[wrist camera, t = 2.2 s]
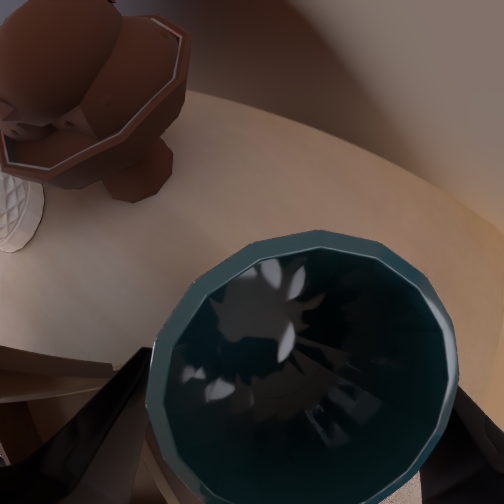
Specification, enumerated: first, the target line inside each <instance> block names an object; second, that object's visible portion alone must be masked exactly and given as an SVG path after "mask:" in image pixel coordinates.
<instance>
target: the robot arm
mask: <svg viewBox="0 0 504 504" xmlns="http://www.w3.org/2000/svg"><path fill="white" fill-rule="evenodd" d="M152 352H153V348H149V347H141V348H140V349H139V350H138V351H137V352H136V353H135V354H134V355H133V356H132V357H131V358H130V359H129V360H128V361H127V362H126V363H125V364H124V365H123V366H122V367H121V368H120V369H119V370H118V371H117V372H116V373H115V374H114V375H113V376H112V377H111V378H110V380H109V381H108V382H107V383H106V384H105V385H104V386H103V387H102V388H101V389H100V390H99V391H98V392H97V393H96V394H95V395H94V396H93V397H92V398H91V399H90V400H89V401H88V402H87V403H86V404H85V405H84V406H83V407H82V408H81V409H80V410H79V411H78V412H77V413H76V415H75V416H73V417H72V418H71V419H70V421H69V422H68V423H67V424H66V425H65V426H63V427H62V428H61V429H60V430H59V431H58V432H57V433H56V434H55V435H54V436H53V437H51V438H50V439H49V440H48V441H47V442H45V443H44V444H43V445H42V446H40V447H39V448H38V449H37V450H35V451H34V452H33V453H32V454H30V455H29V456H28V457H26V458H25V459H24V460H22V461H20V462H18V463H15V464H12V465H7V466H2V467H0V504H129V502H130V498H131V493H132V489H133V484H134V480H135V476H136V471H137V467H138V463H139V459H140V455H141V451H142V447H143V443H144V439H145V435H146V431H147V428H148V424H149V420H150V419H149V415H148V412H147V408H146V402H145V398H146V391H147V384H148V377H149V371H150V364H151V358H152ZM419 471H420V481H421V494H422V504H504V432H503V431H502V430H501V429H499V428H498V427H497V426H496V425H495V424H494V423H493V421H491V419H490V418H489V417H488V416H487V415H485V413H484V412H483V411H482V410H481V409H480V408H479V407H478V406H477V404H476V403H475V402H474V401H473V400H472V399H471V398H470V397H469V396H468V395H467V394H466V393H465V392H464V391H463V390H462V389H461V388H460V387H459V386H457V390H456V395H455V399H454V403H453V407H452V410H451V414H450V418H449V421H448V424H447V428H446V429H445V432H444V434H443V435H442V437H441V438H440V440H439V441H438V443H437V445H436V446H435V448H434V449H433V451H432V452H431V454H430V455H429V457H428V458H427V459H426V461H425V462H424V464H423V465H422V466H421V468H420V469H419Z"/></svg>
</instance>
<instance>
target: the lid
mask: <svg viewBox="0 0 504 504" xmlns="http://www.w3.org/2000/svg"><path fill="white" fill-rule="evenodd" d="M113 375H114V371H113V367H112V364H111V363H101V362H92V361H84V360H77V359H70V358H63V357H56V356H50V355H45V354H39V353H34V352H29V351H24V350H19V349H14V348H10V347H5V346H1V345H0V398H7V397H16V396H23V395H30V394H37V393H44V392H50V391H56V390H61V389H67V388H72V387H78V386H83V385H88V384H92V383H97V382H102V381H106V380H110V378H111V377H112V376H113Z"/></svg>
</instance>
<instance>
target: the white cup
mask: <svg viewBox="0 0 504 504" xmlns="http://www.w3.org/2000/svg"><path fill="white" fill-rule="evenodd" d="M44 201H45V200H44V194H43V187H42V185H41V184H40V183H36V182H31V181H27V180H22V179H20V178H17V177H14V176H12V175H9V174H6V173H3V172H2V171H1V166H0V250H1V251H4V252H8V253H12V252H14V251H17V250H19V249H22V248H23V247H24V246H25V244H26V243H27V242H28V241H29V240H30V239H31V238H32V237H33V235H34V233H35V231H36V229H37V227H38V224H39V222H40V220H41V217H42V212H43V206H44Z"/></svg>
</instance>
